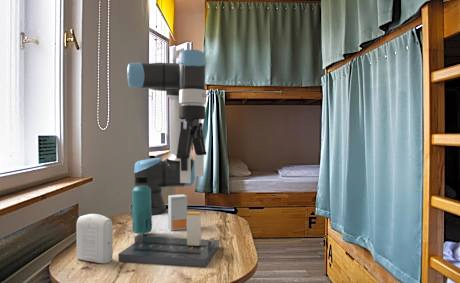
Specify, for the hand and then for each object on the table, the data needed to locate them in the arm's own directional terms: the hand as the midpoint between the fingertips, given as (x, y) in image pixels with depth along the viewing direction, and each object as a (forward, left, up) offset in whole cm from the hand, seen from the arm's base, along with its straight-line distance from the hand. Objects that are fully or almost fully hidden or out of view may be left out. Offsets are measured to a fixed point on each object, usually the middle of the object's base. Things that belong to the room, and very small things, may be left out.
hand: (192, 179), depth 98 cm
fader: (+1, +1, -18) cm, 18 cm away
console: (+3, -5, -21) cm, 22 cm away
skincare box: (-22, -12, -21) cm, 33 cm away
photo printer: (+11, -24, -21) cm, 34 cm away
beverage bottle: (-12, -21, -21) cm, 32 cm away
